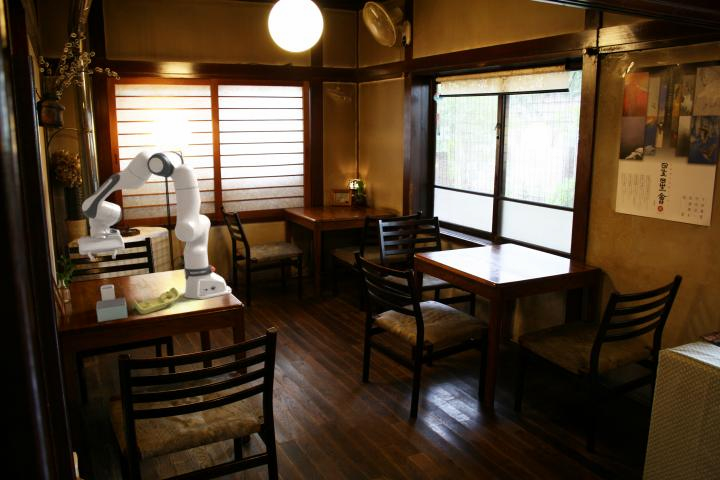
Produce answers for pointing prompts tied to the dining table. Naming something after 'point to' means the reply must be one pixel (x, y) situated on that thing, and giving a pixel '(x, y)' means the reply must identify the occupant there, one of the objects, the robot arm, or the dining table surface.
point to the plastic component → (157, 302)
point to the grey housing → (107, 292)
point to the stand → (111, 309)
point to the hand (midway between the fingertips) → (103, 259)
